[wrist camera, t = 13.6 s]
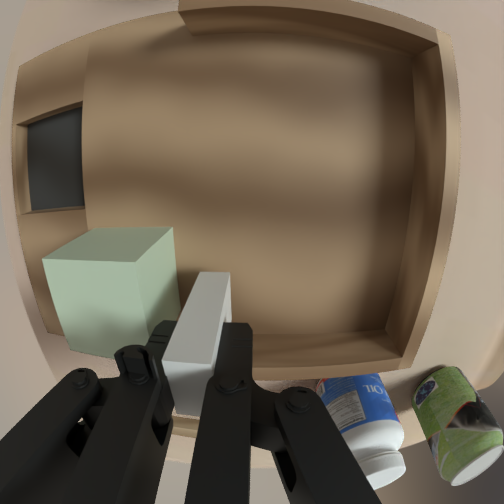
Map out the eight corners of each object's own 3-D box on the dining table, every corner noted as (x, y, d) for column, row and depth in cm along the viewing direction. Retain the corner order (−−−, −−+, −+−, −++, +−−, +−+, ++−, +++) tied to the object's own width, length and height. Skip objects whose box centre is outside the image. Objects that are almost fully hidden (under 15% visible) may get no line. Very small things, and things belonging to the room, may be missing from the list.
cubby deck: (31, 69, 11) (-8, 61, 7) (409, 42, 11) (446, 20, 7) (56, 323, 19) (28, 352, 14) (382, 338, 18) (405, 378, 14)
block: (94, 227, 14) (41, 258, 9) (172, 226, 14) (135, 262, 9) (108, 303, 16) (70, 349, 11) (180, 309, 16) (156, 365, 11)
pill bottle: (386, 377, 20) (426, 467, 11) (336, 409, 21) (358, 500, 12) (356, 347, 19) (401, 455, 9) (300, 385, 20) (317, 493, 11)
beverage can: (425, 407, 22) (463, 488, 11) (390, 394, 21) (432, 498, 9) (466, 367, 20) (517, 445, 9) (438, 347, 19) (504, 445, 8)
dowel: (139, 406, 22) (134, 418, 21) (262, 422, 22) (262, 435, 21) (142, 415, 23) (138, 426, 21) (260, 430, 23) (261, 443, 21)
